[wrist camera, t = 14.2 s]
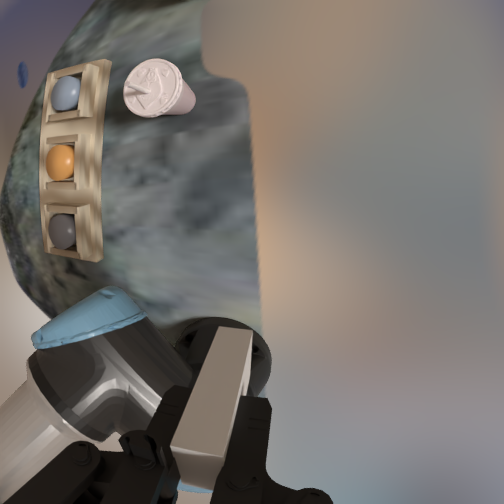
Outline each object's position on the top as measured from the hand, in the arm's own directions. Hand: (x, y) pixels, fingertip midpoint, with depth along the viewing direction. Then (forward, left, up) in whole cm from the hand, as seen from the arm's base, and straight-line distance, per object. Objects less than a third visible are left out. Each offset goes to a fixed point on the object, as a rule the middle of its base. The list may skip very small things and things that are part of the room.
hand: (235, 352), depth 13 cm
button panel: (+7, +31, -26) cm, 41 cm away
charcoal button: (-3, +29, -23) cm, 37 cm away
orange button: (+7, +29, -23) cm, 38 cm away
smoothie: (+15, +13, -26) cm, 33 cm away
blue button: (+17, +29, -23) cm, 41 cm away
